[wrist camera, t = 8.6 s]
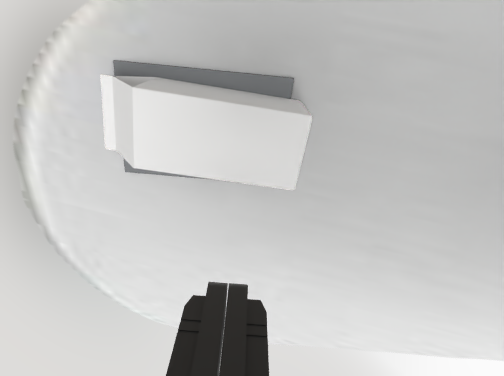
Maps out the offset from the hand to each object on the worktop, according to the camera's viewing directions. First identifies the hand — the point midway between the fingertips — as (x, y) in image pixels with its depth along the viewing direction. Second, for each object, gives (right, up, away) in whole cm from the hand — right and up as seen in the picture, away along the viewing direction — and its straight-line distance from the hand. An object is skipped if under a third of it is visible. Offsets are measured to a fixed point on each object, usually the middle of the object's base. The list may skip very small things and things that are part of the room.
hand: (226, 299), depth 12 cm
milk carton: (+6, +9, +18) cm, 21 cm away
